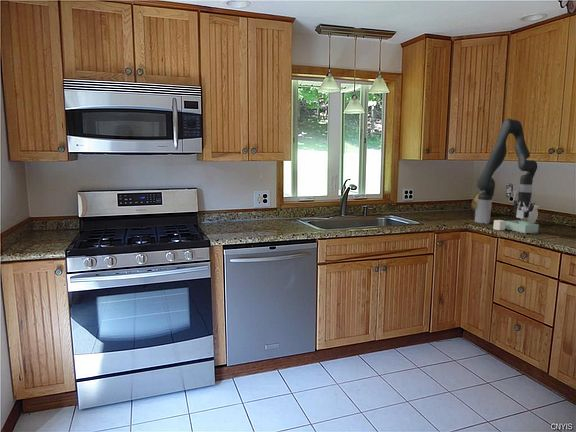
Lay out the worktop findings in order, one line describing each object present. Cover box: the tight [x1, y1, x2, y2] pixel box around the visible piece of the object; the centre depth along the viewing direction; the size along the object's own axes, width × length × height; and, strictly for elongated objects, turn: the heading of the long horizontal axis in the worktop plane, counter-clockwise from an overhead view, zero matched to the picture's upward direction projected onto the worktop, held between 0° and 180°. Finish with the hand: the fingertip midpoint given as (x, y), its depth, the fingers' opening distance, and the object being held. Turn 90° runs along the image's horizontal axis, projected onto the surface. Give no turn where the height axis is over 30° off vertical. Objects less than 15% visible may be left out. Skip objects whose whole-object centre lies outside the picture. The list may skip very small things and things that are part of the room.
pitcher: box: [520, 205, 541, 224], centre depth 297 cm, size 11×18×14 cm, turn 14°
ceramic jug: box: [470, 189, 493, 216], centre depth 332 cm, size 17×15×30 cm
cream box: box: [492, 219, 507, 231], centre depth 271 cm, size 5×5×6 cm
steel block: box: [515, 209, 529, 219], centre depth 265 cm, size 5×5×5 cm
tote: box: [505, 220, 540, 235], centre depth 267 cm, size 16×12×6 cm
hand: (522, 217), depth 266 cm, fingers closed on steel block, 5 cm apart
